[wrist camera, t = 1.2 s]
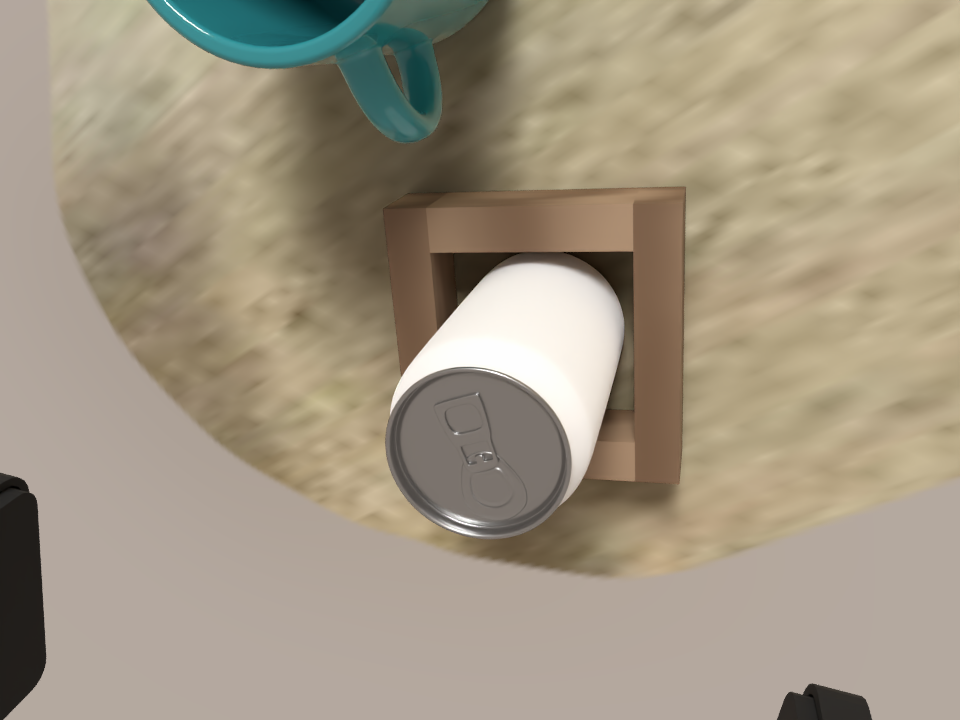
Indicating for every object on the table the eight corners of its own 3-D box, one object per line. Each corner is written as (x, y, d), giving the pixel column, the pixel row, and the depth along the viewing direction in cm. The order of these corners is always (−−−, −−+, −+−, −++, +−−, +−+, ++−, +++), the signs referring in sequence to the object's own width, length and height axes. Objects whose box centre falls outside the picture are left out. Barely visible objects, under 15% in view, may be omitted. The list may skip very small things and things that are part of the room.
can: (503, 410, 39) (419, 569, 28) (449, 273, 37) (337, 385, 26) (646, 373, 36) (616, 530, 26) (596, 225, 35) (541, 326, 24)
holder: (685, 186, 33) (682, 202, 31) (682, 449, 37) (679, 484, 34) (408, 193, 36) (382, 208, 33) (432, 437, 40) (411, 468, 37)
